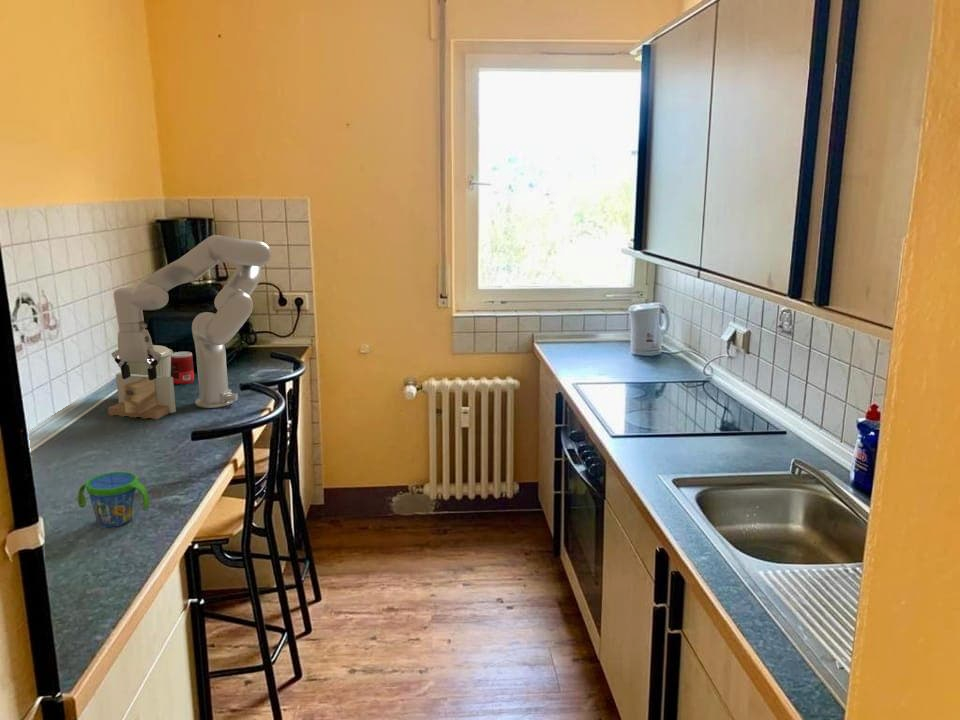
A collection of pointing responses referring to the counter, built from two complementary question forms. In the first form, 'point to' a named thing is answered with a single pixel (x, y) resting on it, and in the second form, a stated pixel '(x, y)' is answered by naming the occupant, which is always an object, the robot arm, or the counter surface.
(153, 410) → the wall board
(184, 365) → the canned food
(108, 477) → the snack cup
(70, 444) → the counter surface
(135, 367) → the canister
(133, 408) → the oak box
